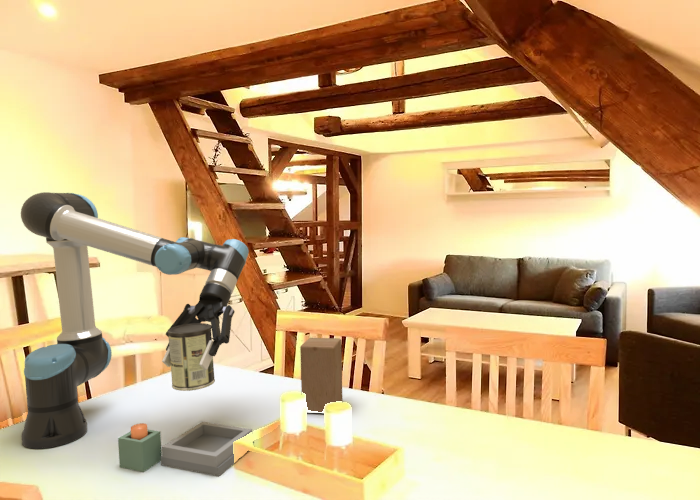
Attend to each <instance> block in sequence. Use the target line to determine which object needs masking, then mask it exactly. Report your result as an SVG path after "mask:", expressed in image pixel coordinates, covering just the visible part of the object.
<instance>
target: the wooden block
mask: <svg viewBox="0 0 700 500" xmlns="http://www.w3.org/2000/svg"><path fill="white" fill-rule="evenodd" d="M299 348H300V352H299V353H300V378H301V379H300V380H301V381H300V382H301V386H300V387H301V393H302V392H303V393H305V394H306V402H307V407H308V410H311V411H318V412H322V411H323V409H324V406H325V404H327V403H330V402H336V401H343V367H342V365H343V364H342V362H343V358H342V357H343V356H342V339H341V338H333V337H331V338H330V337H309V338H308V339H306V341H304V342H303V343H302V344H301V345H300V347H299Z"/></svg>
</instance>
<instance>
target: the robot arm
mask: <svg viewBox="0 0 700 500" xmlns="http://www.w3.org/2000/svg"><path fill="white" fill-rule="evenodd" d="M20 219H21V222H22V224H23V226H24V227H25V228H26V229H27V230H28V231H29V232H30V233H32V234H35V235H37V236H40V237H42V238H45V242H46V243H47V245H50V247H52V249H53V259H54V267H55V274H56V275H55V276H56V286H57V297H58V304H59V305H58V306H59V314H60V315H59V316H60V323H61V333H60V334H59V335H58V336H57V337H56V344H50V345H47V346H41V347H40V348H36V349H35V350H33V351H30V353H29V354H27V356H26V357H25V359H24V368H23V374H24V380H25V381H24V382H25V391H26V394H25V395H26V405H27V406H26V407H27V413H26V418H25V423H24V425H23V429H22V432H21V444H22V446H23V447H25V448H28V449H35V450H36V449H37V450H38V449H48V448H55V447H60V446H63V445H66V444H69V443H71V442H72V443H73V442H74V441H76V440H78V439H81V437H83V436H84V435H86V434H87V431H88V424H87V423H88V422H87V419H86V418H85V415H84V413H83V411H82V409H81V406H80V404H79V397H78V396H79V394H78V387H79V386H81V385H82V384H84V383H86V382H88V381H90V380H92V379H94V378H96V377H98V376H99V375H101V373H103V372H104V371H105V370H106V369H107V368H108V367H109V365H110V363H111V360H112V356H113V355H112V348H111V347H112V346H111V345H110V343H109V342H108V341H106V338H104V337H103V332H102V330H101V329H99V328H98V327H97V326H96V322H95V320H96V319H95V309H94V308H95V307H94V298H93V288H92V280H91V270H90V261H89V251H88V250H89V249H88V247H90V248H93V249H97V250H100V251H104V252H105V253H106V252H107V253H110V254H114V255H116V256H120V257H123V258H126V259H129V260H132V261H135V262H139V263H143V264H145V265H149V266H152V267H155V268H157V269H158V270H159V271H160V272H161V273H162V274H165V275H169V276H170V275H180V274H183V273H185V272H187V271H191V270H194V269H200V270H201V269H202V270H206V271H209V272H210V273H209V275H208V277H207V279H206V281H205V284H204V285H203V287H202V290H201V291H200V294H199V298H198V302H197V303H196V304H195V305H191V304H190V303H187V304H185V306H184V307H183V311H182V312H181V313H180V314H179V316H178V317H177V318H176V319H175V321H174V322H173V323H172V325H171V326H170V327H169V328H168V329H170V328H172V327H175V326H179V325H184V324H192V323H205V322H208V323H210V325H211V336H212V340H209V342H208V345H207V347H206V349H205V352H204V354H203V356H202V359H201V361H200V363H199V365H200V366H201V367H202V368H203V369H204V370H207V369H208V367H209V364H210V362H211V360H212V357H213V358H214V357H215V356H216V355H217V353H218V350H219V348H220V346H222V345H223V344H229V343H230V338H231V337H230V336H231V328H232V319H233V317H234V314H235V310H234V308H233V307H232V305H228V304H229V302H230V301H231V296H232V294H233V293H234V290H235V287H236V285H237V282H238V280H239V278H240V276H241V275H242V271H243V269H244V267H245V265H246V263H247V260H248V259H247V258H248V257H249V254H250V253H249V252H250V250H249V247H248V246H247V245H246V244H245V242H242V241H241V240H238V239H235V238H232V239H226V240H225V241H224V242H223V244H216V243H210V242H207V241H202V240H199V239H196V238H192V237H184V236H183V237H179V238H178V239H177V240H176V241H173V240H169V239H166V238H163V237H160V236H156V235H154V234H150V233H146V232H144V231H140V230H137V229H134V228H130V227H127V226H124V225H121V224H118V223H115V222H111V221H110V220H109V221H108V220H104V219H103V218H102V219H101V218H99V214H98V210H97V207H96V205H95V204H94V203H93V201H92V200H91V199H89V198H88V197H86V196H84V195H82V194H79V193H78V194H77V193H73V192H39V193H35V194H33V195H31V196H30V197H28V198H27V199H26V200H24V203H23V204H22V206H21V209H20ZM221 315H222V321H221V322H222V323H220V316H221ZM220 324H221V325H220ZM220 326H221V328H220ZM165 332H166V333H165V336H167V337H168V330H167V331H165ZM161 362H162V363H163V364H164V365H165V366H166V367H167V368H168V367H169V368H171V362H170V349H169V342H168V344H167V346H166V347H165V354H164V356H163V358H162V360H161Z"/></svg>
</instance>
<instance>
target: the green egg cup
mask: <svg viewBox="0 0 700 500" xmlns="http://www.w3.org/2000/svg"><path fill="white" fill-rule="evenodd" d="M147 430H148V436H146V437H145V438H143V439H141V440H137V439H131V430H130V431H129V432H127V433H125V434H123V435H121V436H120V437H118V438H117V442H118V443H117V446H118V459H119V460H118V463H119V468H121V469H126V470H132V471H137V472H140V473H144V472H146V471H148V470H149V469H150V468H153V466H156V464H158V463H161V456H162V436H161V435H162V434H161V431H159V430H154V429H148V428H147Z"/></svg>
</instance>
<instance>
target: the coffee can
mask: <svg viewBox="0 0 700 500" xmlns="http://www.w3.org/2000/svg"><path fill="white" fill-rule="evenodd" d="M169 328H170V327H169ZM169 328H168V329H167V331H168V336H167V337H168V343H169V349H170V362H171V366H170V373H171V383H172V384H171V387H172V389H174V390H176V391H183V392H190V391H198V390H201V389H204V388H207V387H210V386H211V385H213V384H214V383H215V382H216V379H215V370H214V356H213V357H212V360H211V362H210V364H209V367H208V369H207V370H204V369H203V368H202V367H201V366H200V365H199V363H200V361H201V359H202V356H203V354H204V352H205V349H206V347H207V345H208V342H209V340H212V341H213V339H212V338H213V336H212V328H211V323H205V322H201V323H192V324H184V325H179V326H175V327H172V328H170V329H169Z"/></svg>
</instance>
